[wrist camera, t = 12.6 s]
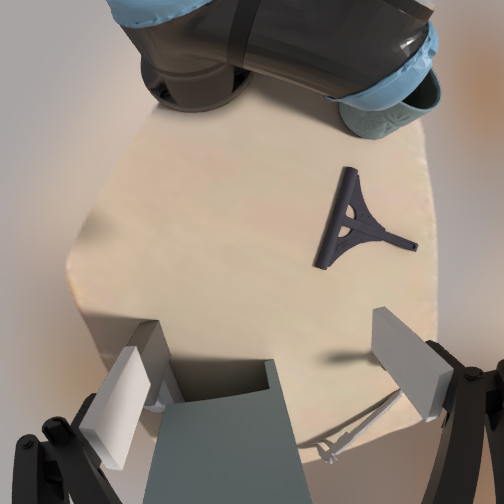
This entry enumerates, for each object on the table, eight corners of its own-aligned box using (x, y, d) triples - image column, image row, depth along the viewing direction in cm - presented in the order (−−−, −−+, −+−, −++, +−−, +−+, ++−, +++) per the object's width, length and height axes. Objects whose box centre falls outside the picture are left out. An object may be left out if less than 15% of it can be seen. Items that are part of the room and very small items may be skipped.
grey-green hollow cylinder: (396, 102, 37) (440, 64, 25) (391, 157, 36) (444, 126, 25) (337, 75, 36) (369, 26, 24) (326, 130, 36) (364, 84, 24)
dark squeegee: (395, 288, 43) (404, 294, 40) (313, 265, 41) (319, 270, 38) (423, 202, 41) (433, 204, 38) (344, 167, 39) (352, 165, 36)
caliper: (318, 445, 49) (325, 467, 42) (315, 443, 48) (322, 465, 42) (403, 388, 47) (418, 406, 41) (402, 385, 47) (417, 403, 41)
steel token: (135, 388, 43) (133, 392, 42) (161, 384, 43) (160, 388, 42) (148, 409, 44) (146, 414, 43) (173, 406, 44) (172, 410, 43)
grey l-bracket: (140, 323, 40) (113, 367, 29) (158, 320, 40) (136, 364, 29) (180, 421, 45) (172, 471, 33) (197, 419, 45) (191, 471, 33)
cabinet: (167, 377, 42) (130, 516, 17) (273, 359, 43) (312, 505, 18) (196, 441, 46) (188, 560, 20) (287, 427, 46) (318, 548, 21)
